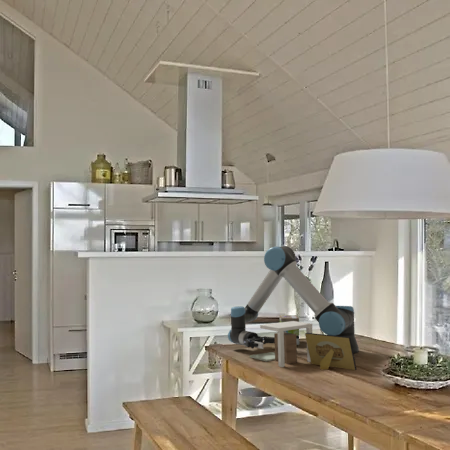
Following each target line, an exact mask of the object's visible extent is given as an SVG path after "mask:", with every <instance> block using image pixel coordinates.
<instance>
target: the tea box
mask: <svg viewBox="0 0 450 450" xmlns="http://www.w3.org/2000/svg"><path fill="white" fill-rule="evenodd" d="M289 321H297V322H300V318H299V317H298V315H296V314H292V315H291V314H283V315H282V314H281V315H279V321H278V323H281V322H289ZM284 332H286V333H291V334H296V342H297V346H299V345H300V329H294V330H287V331H284Z"/></svg>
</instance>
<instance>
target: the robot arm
mask: <svg viewBox="0 0 450 450" xmlns="http://www.w3.org/2000/svg"><path fill="white" fill-rule="evenodd" d="M296 259H297V258H296V253H295V251H294V250H293V249H292V248H291V247H289V246H284V245H282V246H281V245H280V246H272V247H270V248H268V249H267V250H266V252H265V253H264V257H263V262H264V266H265V267H266V268H267V269H269V271H268V273H267V274H266V275H265V277H264V279H263V280H262V281H261V282H260V285H259V286H258V287H257V289H256V290H255V292H254V294H253V295H252V296H251V298H250V299H249V301H248V302H247V304H246V306H245V307H244V306H232V307H231V308H230V326H231V328H230V329H229V331H228V333H227V338H228V340H229V342H230V343H233V344H235V345H240V346H241V345H242V346H244V347H245V348H251V349H252V350H254V349H255V348H257V349H261V350H264V345H266V344H275V338H274V336H266V335H265V336H260V335H258V333H256V332H254V331H250V330H249V331H248V330H246V329H247V328H246V326H247V325H246V324H247V323H251V322H254V321H255V320H257V318H258V316H259V312H260V311H261V309H262V308H263V306H264V305H265V303H266V302H267V301H268V299H269V298H270V296H271V295H272V293H273V292H274V290H275V289H276V287H277V286H278V285H279V283H280V281H281V280H282V279H283V278H284V280H286V282H287V283H288V285H290V287H291V288H292V289H293V290H294V292H296V293H297V295H298V296H299V297H300V299H301V300H302V301H304V303H305V304H306V305H307V306H308V308H309V309H310V310H311V311H312V312H313V313H314V319H315V320H316V322H318V326H319V328H320V330H321V332H322V334H324V335H334V336H343V337H350V339H351V344H352V349H353V354H357V353H359V350H360V349H359V343H358V342H357V341H358V340H357V338H356V334H355V309H354V307H353V306H351V305H335V304H334V303H333V302H329V301H328V300H327V299H326V298H325V297H324V296H323V295H322V293H321V292H320V291H319V290H318V289H317V288H316V286H314V284H313V283H312V282H311V280H309V279H308V277H306V276H305V274H304V273H303V272H302V271H301V270H300V269H299V268H298V266H297V263H298V262H297V260H296Z"/></svg>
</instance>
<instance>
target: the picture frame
mask: <svg viewBox="0 0 450 450" xmlns="http://www.w3.org/2000/svg"><path fill="white" fill-rule="evenodd" d="M304 335H305V341H306V347H307V346H308V350H309V355H310V360H311V362H310V364H311V365H318V366H320V367H319V369H320V370H321V371H322V370H323V371H324V370H329V369H330V368H329V367H331V368H332V367H333V368H336V369H337V368H339V369H346V370H351V371H352V370H353V371H356V370H357V365H356V360H355V353H353V349H352V344H351V339H350V337H343V336H334V335H327V334H325V333H313V332H312V333H306V332H305V333H304Z"/></svg>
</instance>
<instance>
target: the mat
mask: <svg viewBox="0 0 450 450" xmlns="http://www.w3.org/2000/svg"><path fill="white" fill-rule="evenodd" d="M249 358H252V359H254V360H258V361H259V360H260V361H262V362H271V361H275V351H274V352H273V351H270V352H263V353H257V354H250V355H249Z"/></svg>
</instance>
